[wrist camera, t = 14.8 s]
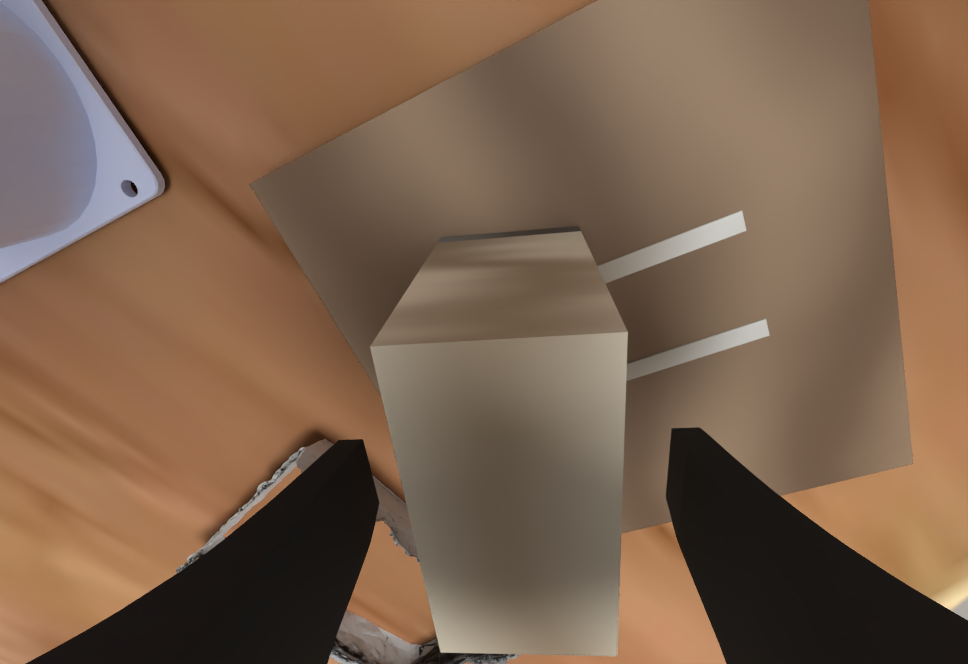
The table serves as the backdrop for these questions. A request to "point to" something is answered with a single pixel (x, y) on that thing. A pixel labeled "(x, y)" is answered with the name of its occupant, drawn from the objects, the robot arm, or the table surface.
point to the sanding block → (511, 440)
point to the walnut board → (656, 220)
